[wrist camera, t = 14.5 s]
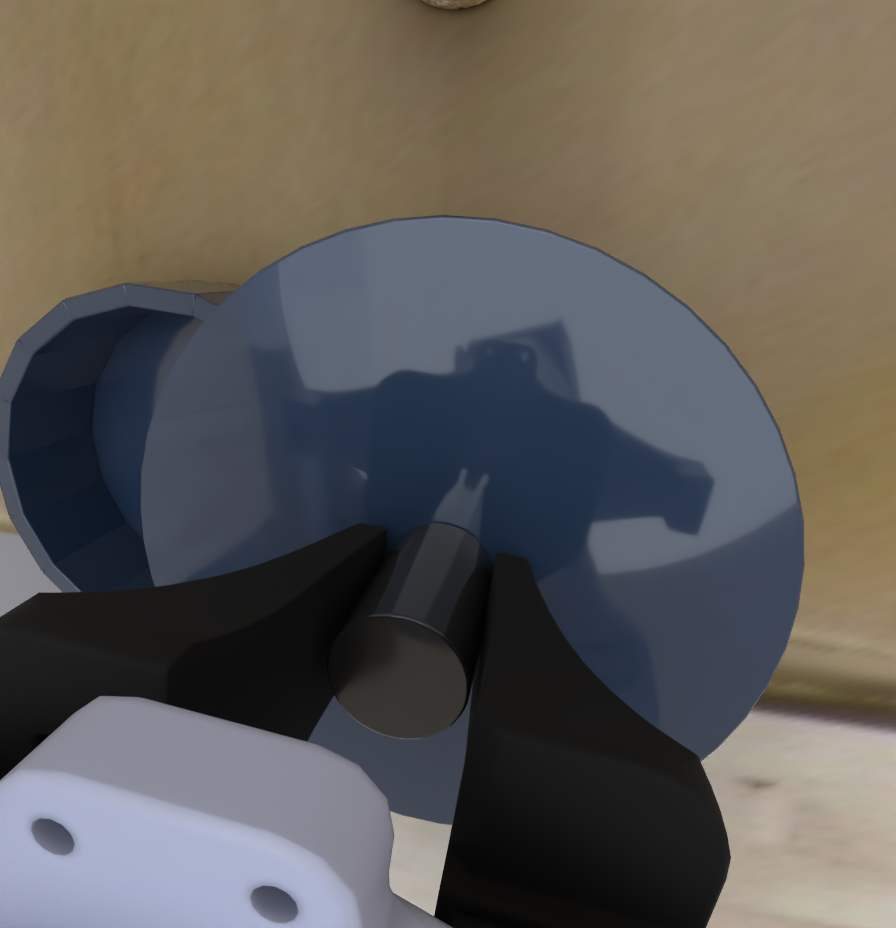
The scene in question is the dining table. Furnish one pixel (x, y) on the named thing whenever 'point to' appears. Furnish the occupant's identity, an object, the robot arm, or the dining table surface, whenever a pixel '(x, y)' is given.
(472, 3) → the sprinkles bottle
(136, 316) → the pot
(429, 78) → the dining table surface
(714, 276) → the dining table surface
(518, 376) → the lid
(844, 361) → the dining table surface
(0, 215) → the dining table surface
